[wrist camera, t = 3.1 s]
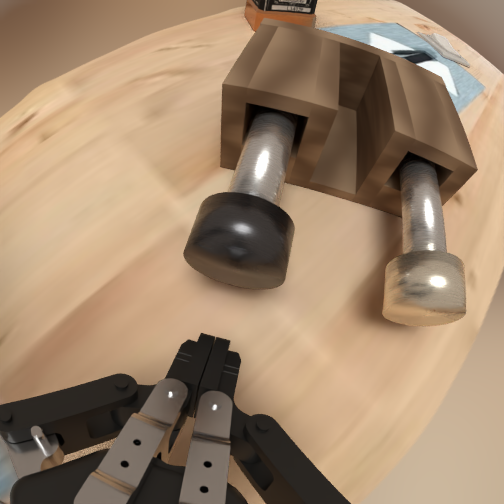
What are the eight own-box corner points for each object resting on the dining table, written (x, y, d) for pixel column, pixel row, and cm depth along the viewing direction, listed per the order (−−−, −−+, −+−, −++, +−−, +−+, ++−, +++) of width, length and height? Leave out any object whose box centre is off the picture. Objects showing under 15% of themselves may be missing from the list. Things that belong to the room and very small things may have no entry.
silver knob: (367, 317, 19) (413, 292, 14) (373, 154, 25) (398, 110, 20) (431, 329, 19) (483, 310, 13) (423, 173, 25) (453, 136, 20)
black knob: (188, 273, 19) (176, 232, 14) (245, 118, 25) (251, 67, 20) (275, 296, 19) (295, 262, 14) (307, 133, 25) (322, 84, 20)
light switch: (446, 35, 52) (474, 58, 46) (441, 45, 55) (468, 69, 50) (418, 24, 50) (448, 46, 44) (414, 35, 54) (442, 59, 48)
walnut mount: (219, 166, 26) (221, 83, 18) (255, 81, 32) (264, 17, 24) (423, 224, 26) (478, 170, 17) (410, 129, 32) (441, 77, 23)
